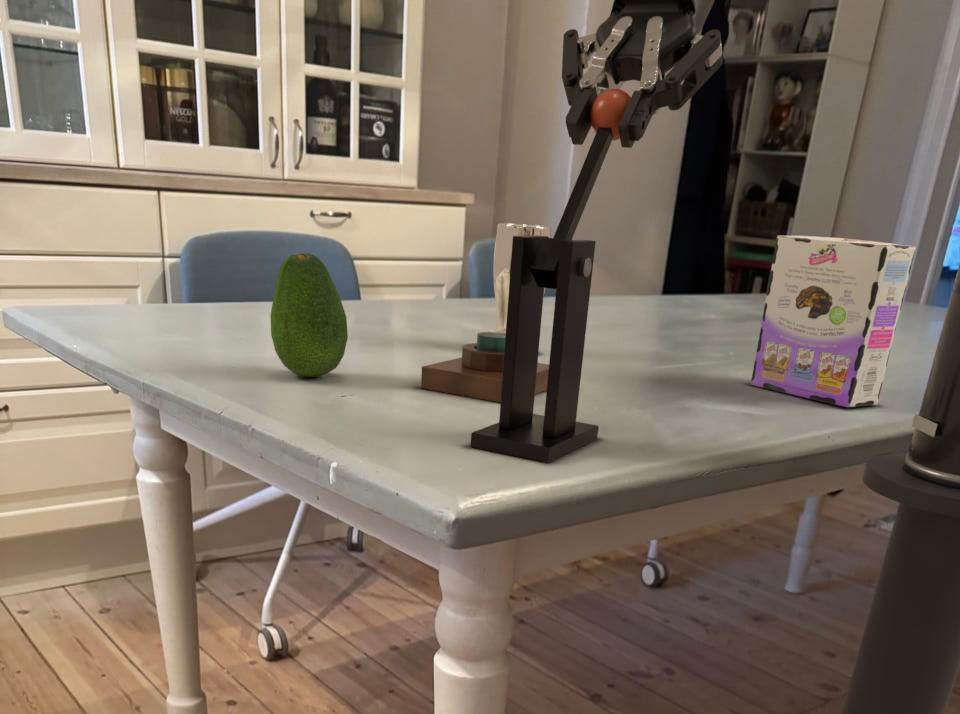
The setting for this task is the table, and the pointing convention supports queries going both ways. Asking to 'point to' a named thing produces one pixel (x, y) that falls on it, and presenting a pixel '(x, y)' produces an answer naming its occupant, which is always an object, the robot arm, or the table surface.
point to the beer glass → (508, 264)
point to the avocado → (307, 317)
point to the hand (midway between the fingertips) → (599, 136)
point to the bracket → (525, 301)
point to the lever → (581, 184)
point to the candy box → (831, 318)
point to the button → (491, 341)
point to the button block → (474, 375)
